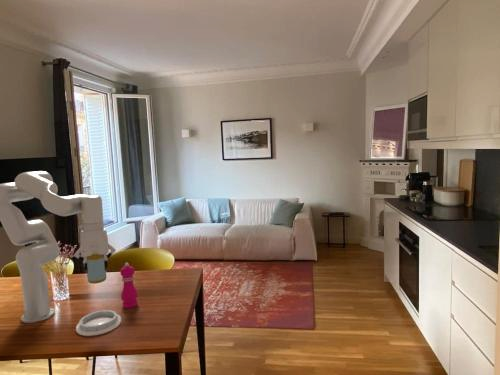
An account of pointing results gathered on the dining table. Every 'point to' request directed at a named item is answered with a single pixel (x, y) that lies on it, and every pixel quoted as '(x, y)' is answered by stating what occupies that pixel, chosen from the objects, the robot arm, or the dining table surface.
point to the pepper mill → (128, 287)
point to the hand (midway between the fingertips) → (96, 270)
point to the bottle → (95, 267)
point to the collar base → (98, 323)
